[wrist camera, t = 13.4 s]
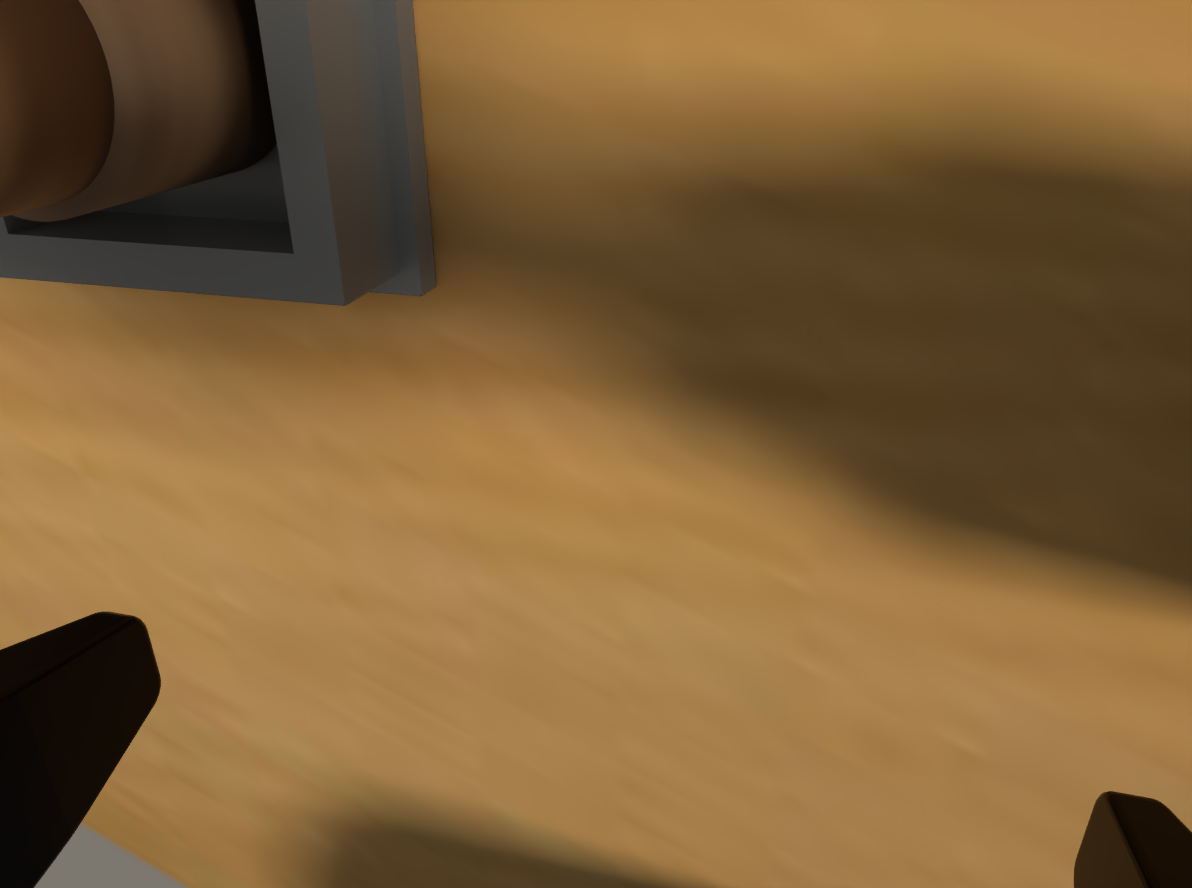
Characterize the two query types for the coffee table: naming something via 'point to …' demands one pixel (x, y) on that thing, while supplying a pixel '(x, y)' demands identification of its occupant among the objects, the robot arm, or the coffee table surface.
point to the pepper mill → (126, 100)
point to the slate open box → (280, 182)
